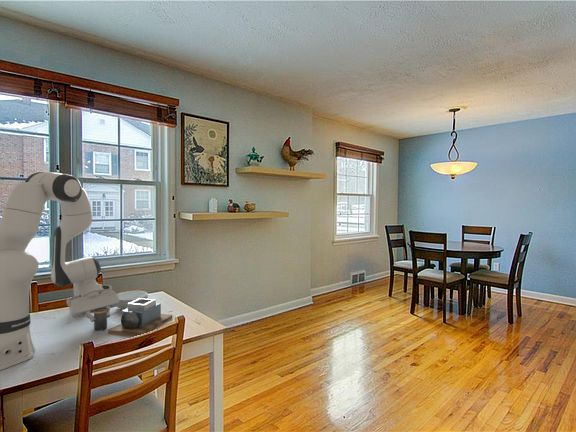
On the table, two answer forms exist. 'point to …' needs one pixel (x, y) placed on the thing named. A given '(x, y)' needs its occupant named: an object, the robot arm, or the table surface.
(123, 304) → the cereal bowl
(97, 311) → the dark grey cylinder
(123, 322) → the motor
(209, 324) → the table surface
